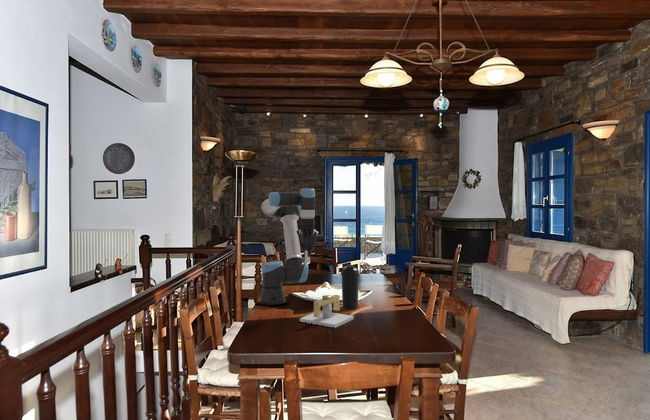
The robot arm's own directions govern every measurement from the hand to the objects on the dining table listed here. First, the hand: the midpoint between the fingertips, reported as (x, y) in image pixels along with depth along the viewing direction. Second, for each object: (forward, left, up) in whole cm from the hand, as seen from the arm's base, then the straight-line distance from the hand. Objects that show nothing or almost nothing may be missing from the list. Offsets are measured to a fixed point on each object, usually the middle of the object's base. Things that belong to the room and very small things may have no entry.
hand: (307, 262), depth 231 cm
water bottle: (+14, +21, -26) cm, 37 cm away
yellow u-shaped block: (+17, -8, -23) cm, 29 cm away
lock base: (+17, -8, -26) cm, 32 cm away
